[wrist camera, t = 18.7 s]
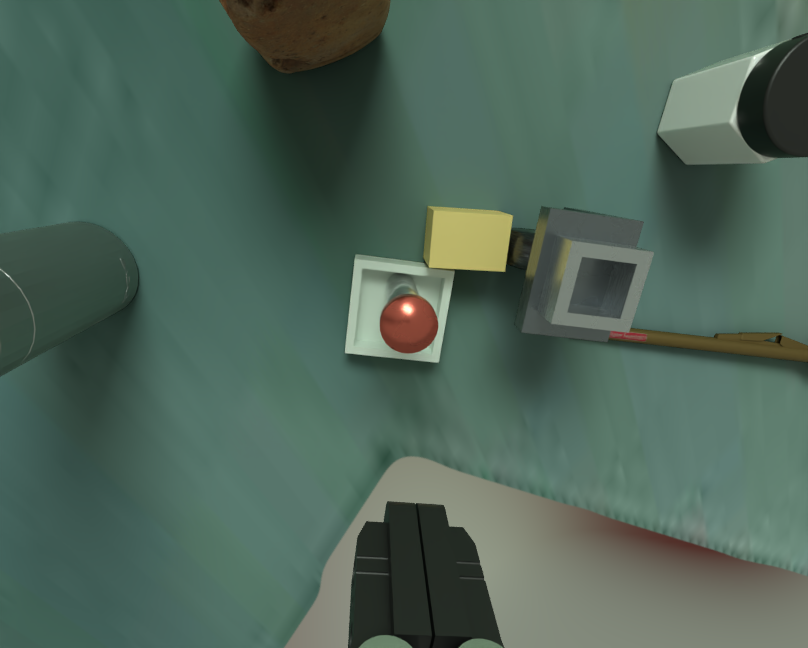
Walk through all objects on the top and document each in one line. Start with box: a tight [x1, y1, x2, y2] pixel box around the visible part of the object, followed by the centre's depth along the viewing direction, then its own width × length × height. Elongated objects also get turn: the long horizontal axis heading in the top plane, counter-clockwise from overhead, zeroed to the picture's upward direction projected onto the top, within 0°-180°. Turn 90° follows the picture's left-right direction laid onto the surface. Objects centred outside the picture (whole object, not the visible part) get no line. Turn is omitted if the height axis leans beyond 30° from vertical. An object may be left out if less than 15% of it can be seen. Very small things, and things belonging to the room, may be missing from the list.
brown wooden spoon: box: [608, 328, 808, 362], centre depth 49 cm, size 5×35×5 cm
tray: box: [345, 254, 455, 363], centre depth 45 cm, size 10×10×2 cm
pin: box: [380, 273, 438, 354], centre depth 39 cm, size 4×4×12 cm
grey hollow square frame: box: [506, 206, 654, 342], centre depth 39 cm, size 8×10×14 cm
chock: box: [423, 206, 513, 272], centre depth 42 cm, size 7×5×5 cm
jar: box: [657, 33, 808, 165], centre depth 36 cm, size 9×8×12 cm
